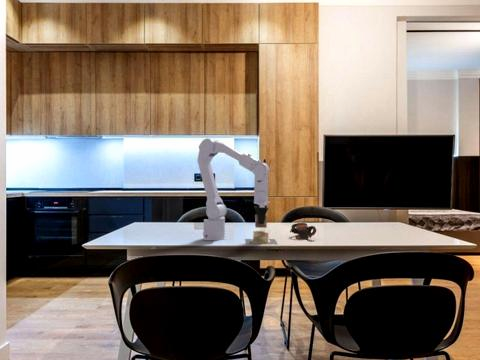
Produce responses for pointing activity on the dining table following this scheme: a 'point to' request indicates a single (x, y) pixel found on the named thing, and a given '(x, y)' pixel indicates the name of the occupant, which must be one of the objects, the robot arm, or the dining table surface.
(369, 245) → the dining table surface
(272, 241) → the mat
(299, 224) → the pottery mug
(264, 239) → the oak block
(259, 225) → the walnut block
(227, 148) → the robot arm
